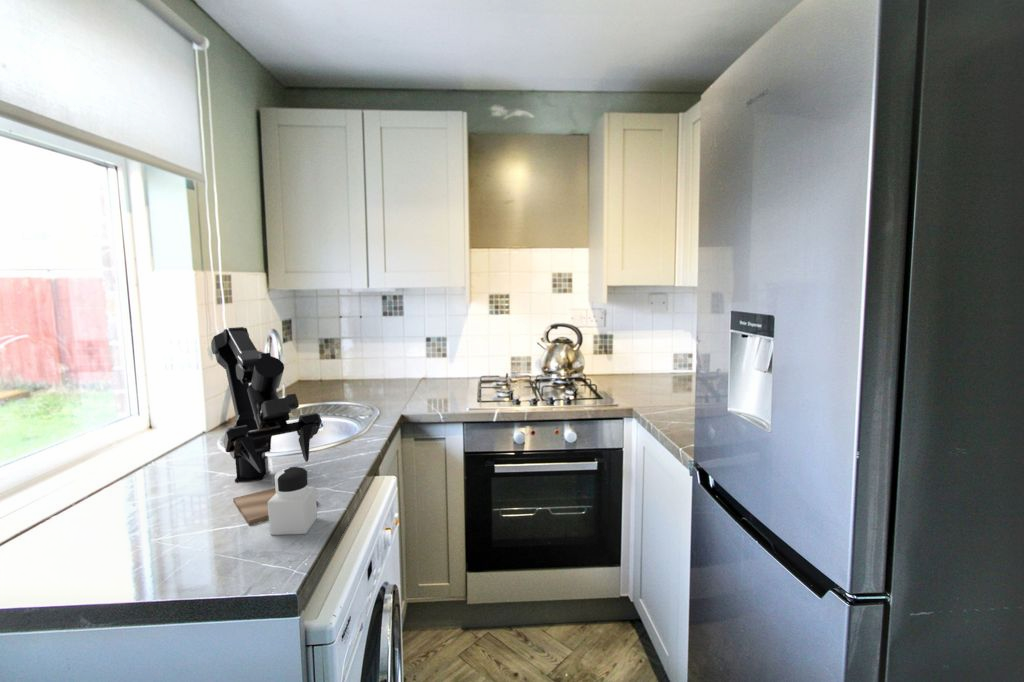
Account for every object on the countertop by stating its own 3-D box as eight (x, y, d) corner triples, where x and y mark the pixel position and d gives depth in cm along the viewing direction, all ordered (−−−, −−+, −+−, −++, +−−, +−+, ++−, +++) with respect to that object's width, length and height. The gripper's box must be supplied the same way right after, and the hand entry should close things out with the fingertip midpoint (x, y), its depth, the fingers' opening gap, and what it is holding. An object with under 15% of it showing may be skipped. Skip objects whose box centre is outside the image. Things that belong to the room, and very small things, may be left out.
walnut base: (233, 502, 118) (233, 498, 118) (297, 485, 126) (297, 481, 126) (249, 525, 107) (248, 520, 107) (317, 505, 116) (317, 501, 116)
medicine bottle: (318, 517, 110) (314, 463, 108) (305, 534, 103) (302, 476, 101) (283, 518, 110) (279, 464, 108) (269, 535, 103) (264, 477, 101)
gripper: (222, 389, 104) (239, 457, 97) (316, 377, 116) (337, 436, 109) (217, 419, 111) (233, 484, 104) (306, 404, 123) (326, 462, 116)
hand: (284, 466), depth 108 cm, fingers open, 9 cm apart
